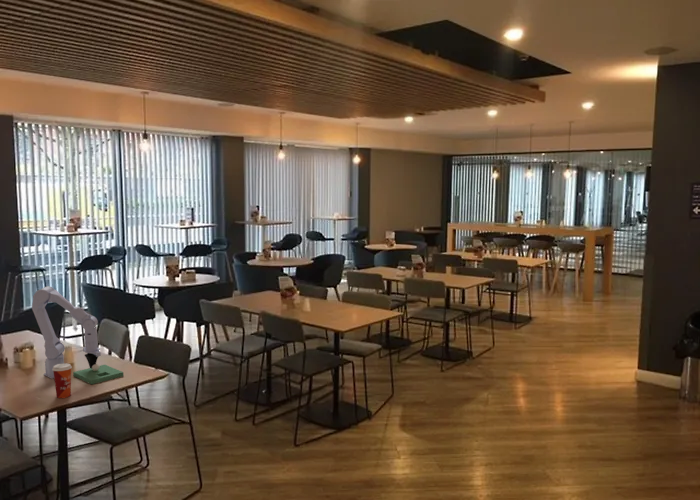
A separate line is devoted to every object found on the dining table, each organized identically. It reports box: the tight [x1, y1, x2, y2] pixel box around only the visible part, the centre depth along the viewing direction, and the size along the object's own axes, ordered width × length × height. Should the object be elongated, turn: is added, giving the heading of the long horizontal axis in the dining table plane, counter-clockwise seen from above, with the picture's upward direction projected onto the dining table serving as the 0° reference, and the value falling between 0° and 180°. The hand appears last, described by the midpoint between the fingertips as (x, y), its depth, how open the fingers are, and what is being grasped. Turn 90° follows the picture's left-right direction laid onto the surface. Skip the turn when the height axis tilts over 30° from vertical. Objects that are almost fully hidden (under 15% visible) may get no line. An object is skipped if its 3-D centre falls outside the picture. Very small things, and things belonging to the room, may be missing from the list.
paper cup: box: [52, 362, 73, 399], centre depth 258 cm, size 8×8×14 cm
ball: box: [92, 363, 100, 371], centre depth 287 cm, size 4×4×4 cm
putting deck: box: [72, 364, 124, 385], centre depth 286 cm, size 19×16×2 cm
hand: (92, 367), depth 289 cm, fingers closed
